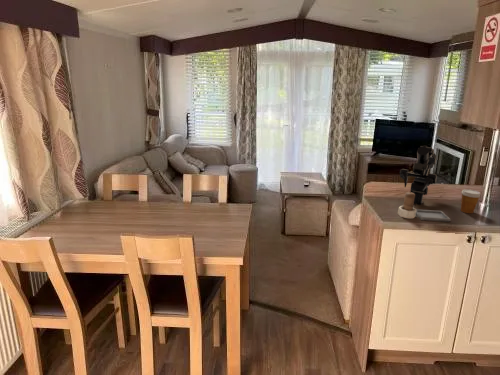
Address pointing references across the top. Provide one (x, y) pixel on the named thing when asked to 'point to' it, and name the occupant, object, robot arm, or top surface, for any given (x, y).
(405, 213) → the white nut
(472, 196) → the disposable coffee cup
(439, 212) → the tray
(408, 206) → the dowel peg
